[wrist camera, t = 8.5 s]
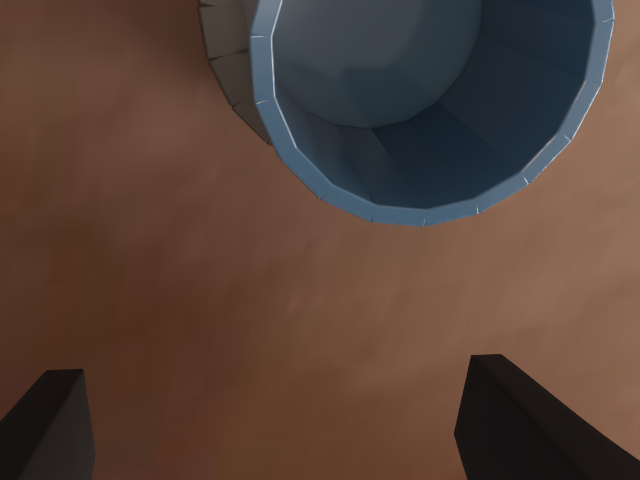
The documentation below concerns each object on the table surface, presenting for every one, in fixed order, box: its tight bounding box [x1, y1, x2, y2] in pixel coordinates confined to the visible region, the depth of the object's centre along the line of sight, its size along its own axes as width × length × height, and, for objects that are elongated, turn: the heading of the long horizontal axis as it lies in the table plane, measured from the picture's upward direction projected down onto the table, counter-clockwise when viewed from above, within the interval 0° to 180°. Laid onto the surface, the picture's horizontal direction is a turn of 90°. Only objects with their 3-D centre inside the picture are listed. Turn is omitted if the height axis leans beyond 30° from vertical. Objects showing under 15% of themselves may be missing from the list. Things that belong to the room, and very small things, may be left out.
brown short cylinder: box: [197, 0, 273, 147], centre depth 16 cm, size 8×8×4 cm
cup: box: [243, 0, 615, 227], centre depth 12 cm, size 6×6×5 cm
